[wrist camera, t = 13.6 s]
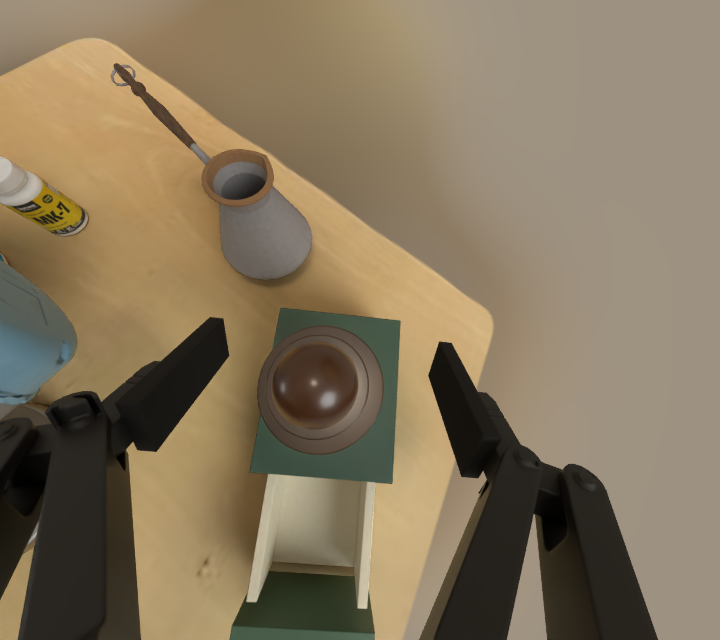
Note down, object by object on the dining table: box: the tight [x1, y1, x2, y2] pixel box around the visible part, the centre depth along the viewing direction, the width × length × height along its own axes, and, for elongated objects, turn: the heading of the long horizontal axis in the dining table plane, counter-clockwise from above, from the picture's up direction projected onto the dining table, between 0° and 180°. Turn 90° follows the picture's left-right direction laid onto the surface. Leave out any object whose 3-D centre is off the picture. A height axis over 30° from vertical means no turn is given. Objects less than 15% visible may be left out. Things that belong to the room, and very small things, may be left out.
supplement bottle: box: [0, 157, 88, 236], centre depth 31 cm, size 5×5×8 cm
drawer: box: [230, 474, 375, 640], centre depth 23 cm, size 18×11×6 cm, turn 175°
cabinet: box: [250, 308, 400, 484], centre depth 27 cm, size 15×12×8 cm
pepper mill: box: [257, 325, 384, 455], centre depth 15 cm, size 5×5×18 cm
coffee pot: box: [111, 63, 312, 280], centre depth 29 cm, size 21×12×15 cm, turn 49°
